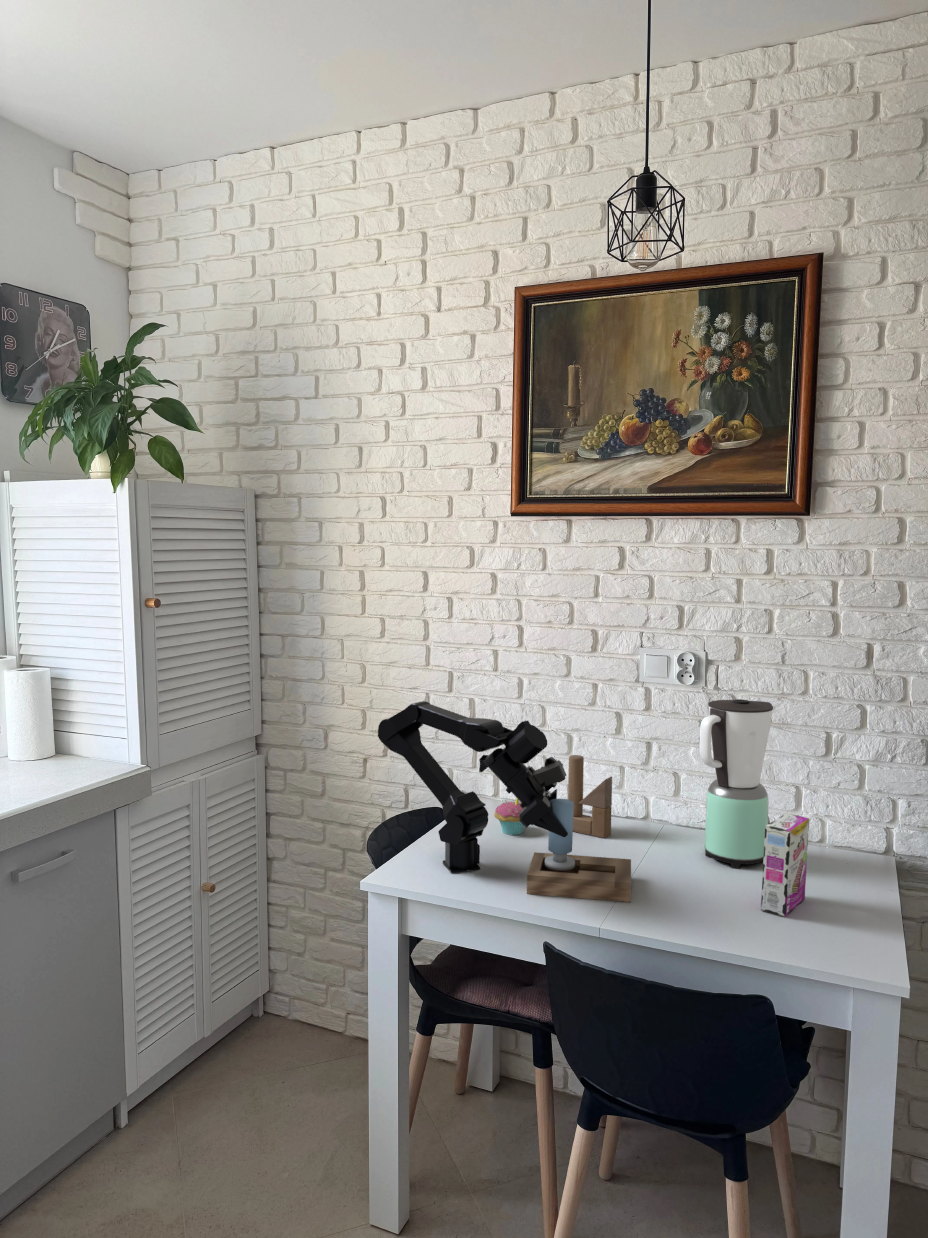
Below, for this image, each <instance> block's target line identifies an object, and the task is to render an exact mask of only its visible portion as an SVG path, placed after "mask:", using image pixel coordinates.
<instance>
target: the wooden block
mask: <svg viewBox="0 0 928 1238" xmlns="http://www.w3.org/2000/svg"><path fill="white" fill-rule="evenodd" d="M584 759H585V757H584V755H583V756H582V755H579V754H572V755H569V756H568V777H567V778H568V779H567V780H568V788H567V789H568V790H567V791H568V792H567V799H568V800H571V801H573V802H574V804H573V833H578V834H583V835H587V836H593V837H597V838H599V839H606V838H608V837H610V836H611V835H612V804H613V803H612V802H613V801H612V800H613V776H612V775H611V776H609V777H608V778H605V779H603V781H602V782H601V783H599V784H598V785H597V786H596V787H595V788H593V789H592V791H591V792H590V791H589V792H590V793H589V792H588V794H587V795H586V796H585V797H584V765H585V764H584V763H585V761H584ZM584 806H589V807H591V815H587V814H584Z"/></svg>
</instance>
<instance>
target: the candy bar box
mask: <svg viewBox="0 0 928 1238" xmlns="http://www.w3.org/2000/svg"><path fill="white" fill-rule="evenodd" d="M809 825H810V818H809V817H804V816H800V815H797V814H796V815H795V814H789V813H784V814H783V815H781V816H779V817H778V818H776V819H774V820H773V821H770V823H769V824H768V825H766V826H765V840H764V859H763V863H762V864H763V865H762V866H763V867H762V880H761V881H762V883H761V901H760V902H761V903H760V911H763V912H766V913H769V914H772V915H776V916H779V917H785V918H786V917H787V916H788V915H789V914H790V913H791V912H792V911H793V910H794V909H796V908H797V907H798V906H799V904H801V903H802V902H804V900H805V899H806V898H805V897H806V884H807V883H806V882H807V877H806V876H807V867H808V866H807V864H808V861H807V860H808V849H809V848H808V847H809V845H808V844H809V827H810V826H809Z"/></svg>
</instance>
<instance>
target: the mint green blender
mask: <svg viewBox="0 0 928 1238" xmlns="http://www.w3.org/2000/svg"><path fill="white" fill-rule="evenodd" d="M707 705H708V715H707V716H704V717H703V719H702V720H701V723H700V726H699V757H700V759H701V761H702V762H703V764H704V765H706V767H707V766H708V767H710V768H712V769H713V768H714V769H715V775H716V779H714V780H713V781H711V783H710V785H709V787H708V788H707V792H706V798H705V799H706V801H705V802H706V803H705V805H706V806H705V828H704V829H705V830H704V831H705V832H704V849H705V850H704V852H705V854H704V856H705V857H707V858H713V859H714V860H717V861H720V862H722V863H723V862H724V863H727V864H730V868H732V869H740V868H741V865H753V864H760V863H761V864H763V859H764V840H765V826H766V825H768V824H769V823H771V820H770V817H769V802H770V801H769V794H768V792H767V789H766V788H765V787H764V785H763V784H762V783H760V781H761V777H762V771H763V766H764V765H763V764H764V760H765V755H766V750H767V746H768V739H769V735H770V730H771V725H772V719H773V718H772V717H773V710H774V706H773V705H772V703H771V702H769V701H758V700H747V699H739V698H737V699H718V700H712V701H709V702H708V703H707ZM712 752H713V753H712ZM712 754H713V757H712Z"/></svg>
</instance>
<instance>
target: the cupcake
mask: <svg viewBox="0 0 928 1238" xmlns="http://www.w3.org/2000/svg"><path fill="white" fill-rule="evenodd" d="M520 804H521V802H520V801H519V800H518V799H517V798H516V797H515V801H508V802H507V801H506V802H502V803H500V804H499V805H497V806H496V808H495V810H494V817H495V819H497V820H498V821H499V824H500V826H501V829H502V833H504V834H506V835H510V836H512V835H513V836H515V835H516V836H517V835H521V834H522V833H523V832H524V828H525V826H524V825H523V824H522V823H521V822H520V821H519V818H520V812H521V810H522V809H523V808H522V807H521V806H520Z"/></svg>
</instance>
